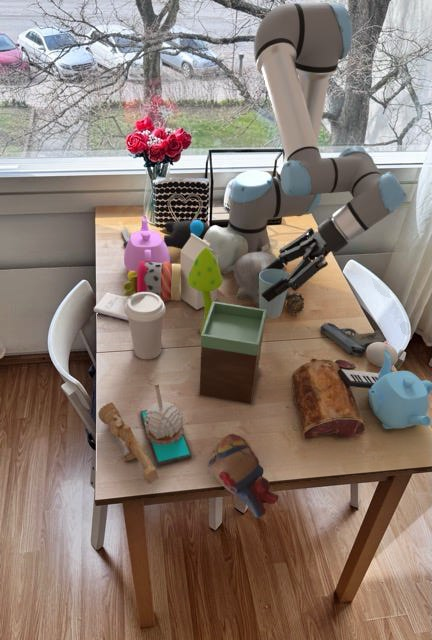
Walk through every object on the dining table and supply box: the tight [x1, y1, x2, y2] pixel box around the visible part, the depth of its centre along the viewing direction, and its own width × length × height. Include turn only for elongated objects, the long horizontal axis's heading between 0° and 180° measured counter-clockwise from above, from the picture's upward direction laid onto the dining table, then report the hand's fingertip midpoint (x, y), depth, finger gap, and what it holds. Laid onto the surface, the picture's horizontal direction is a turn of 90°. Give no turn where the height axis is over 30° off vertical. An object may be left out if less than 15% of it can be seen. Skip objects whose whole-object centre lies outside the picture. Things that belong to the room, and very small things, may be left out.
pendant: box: [285, 292, 305, 318], centre depth 148 cm, size 5×8×5 cm
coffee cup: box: [124, 292, 167, 360], centre depth 131 cm, size 10×10×15 cm
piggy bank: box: [224, 252, 292, 309], centre depth 152 cm, size 18×16×14 cm
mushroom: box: [188, 248, 223, 334], centre depth 133 cm, size 8×8×25 cm
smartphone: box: [140, 409, 192, 467], centre depth 117 cm, size 7×1×15 cm
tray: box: [200, 301, 267, 356], centre depth 118 cm, size 12×12×3 cm
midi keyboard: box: [338, 368, 379, 390], centre depth 126 cm, size 18×1×5 cm
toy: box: [163, 219, 212, 250], centre depth 165 cm, size 9×11×15 cm
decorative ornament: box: [143, 382, 185, 446], centre depth 112 cm, size 8×8×15 cm
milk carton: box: [180, 233, 218, 310], centre depth 146 cm, size 7×7×19 cm
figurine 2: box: [365, 340, 399, 368], centre depth 134 cm, size 8×6×7 cm
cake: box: [122, 261, 181, 302], centre depth 148 cm, size 10×11×15 cm
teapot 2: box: [367, 350, 432, 430], centre depth 120 cm, size 15×14×11 cm
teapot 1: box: [123, 215, 171, 273], centre depth 158 cm, size 20×13×12 cm, turn 9°
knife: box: [121, 226, 131, 247], centre depth 172 cm, size 17×1×5 cm
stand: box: [199, 327, 265, 405], centre depth 124 cm, size 12×12×15 cm
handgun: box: [320, 322, 388, 356], centre depth 142 cm, size 2×14×12 cm
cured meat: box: [291, 357, 367, 439], centre depth 125 cm, size 18×25×7 cm
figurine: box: [98, 401, 159, 486], centre depth 111 cm, size 7×4×20 cm
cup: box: [259, 269, 290, 319], centre depth 136 cm, size 8×8×10 cm
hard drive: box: [93, 292, 130, 322], centre depth 147 cm, size 2×8×12 cm
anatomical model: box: [207, 433, 279, 519], centre depth 109 cm, size 9×13×15 cm
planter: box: [203, 224, 248, 276], centre depth 159 cm, size 12×12×11 cm
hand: (263, 287), depth 135 cm, fingers closed on cup, 8 cm apart
